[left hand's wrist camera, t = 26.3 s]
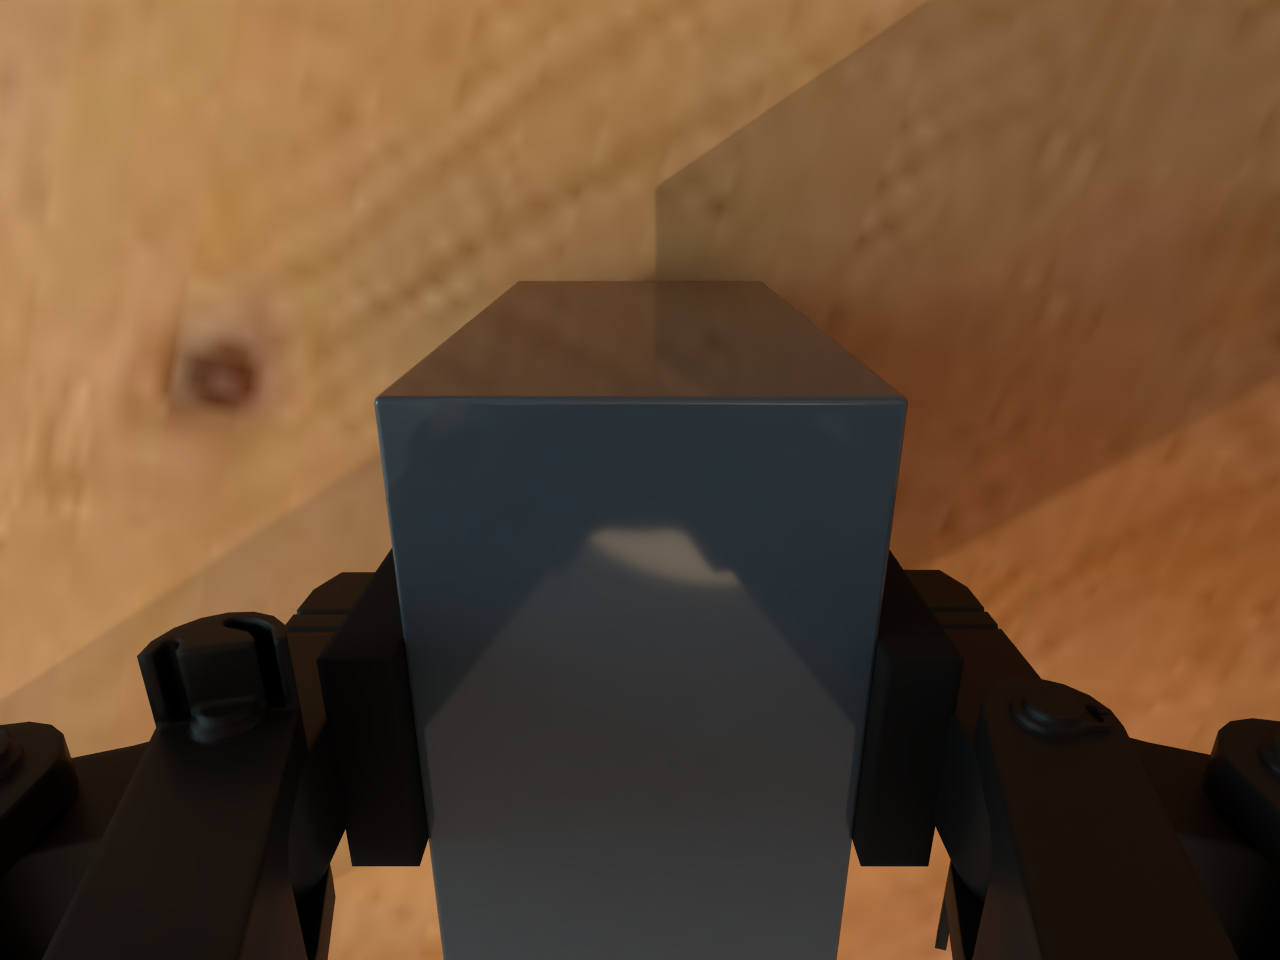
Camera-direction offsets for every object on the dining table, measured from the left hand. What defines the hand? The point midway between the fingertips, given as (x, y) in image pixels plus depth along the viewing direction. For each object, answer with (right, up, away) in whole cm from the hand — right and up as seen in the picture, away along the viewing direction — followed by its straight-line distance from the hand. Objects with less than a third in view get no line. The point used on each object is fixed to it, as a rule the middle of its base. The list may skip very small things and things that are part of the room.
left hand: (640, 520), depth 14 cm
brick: (0, +1, +3) cm, 3 cm away
